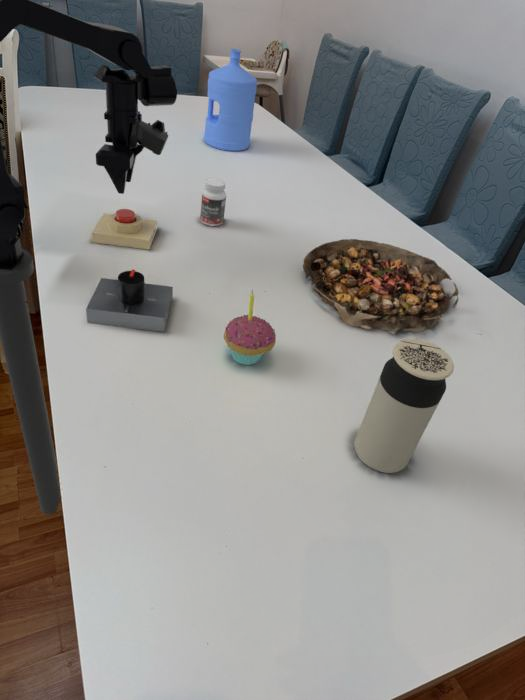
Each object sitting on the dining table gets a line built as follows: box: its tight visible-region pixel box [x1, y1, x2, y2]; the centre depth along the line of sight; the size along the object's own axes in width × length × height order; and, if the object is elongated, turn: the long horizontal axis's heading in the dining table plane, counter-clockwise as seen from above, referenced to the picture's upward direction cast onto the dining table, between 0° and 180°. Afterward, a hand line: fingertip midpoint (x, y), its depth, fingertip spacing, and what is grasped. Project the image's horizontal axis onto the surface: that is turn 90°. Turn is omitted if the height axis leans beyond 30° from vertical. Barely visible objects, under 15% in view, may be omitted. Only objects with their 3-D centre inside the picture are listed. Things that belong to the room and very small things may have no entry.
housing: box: [91, 212, 158, 250], centre depth 109 cm, size 12×10×4 cm
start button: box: [115, 208, 136, 224], centre depth 107 cm, size 4×4×2 cm
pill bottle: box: [200, 177, 227, 227], centre depth 119 cm, size 6×6×10 cm
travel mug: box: [353, 338, 455, 474], centre depth 66 cm, size 8×8×18 cm
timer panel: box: [85, 277, 174, 333], centre depth 88 cm, size 13×10×3 cm
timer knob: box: [117, 268, 145, 304], centre depth 86 cm, size 4×4×4 cm
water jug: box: [203, 48, 258, 152], centre depth 161 cm, size 16×16×28 cm
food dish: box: [302, 238, 459, 335], centre depth 106 cm, size 35×33×8 cm
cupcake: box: [223, 289, 277, 366], centre depth 80 cm, size 9×8×12 cm
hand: (124, 187), depth 103 cm, fingers open, 6 cm apart
